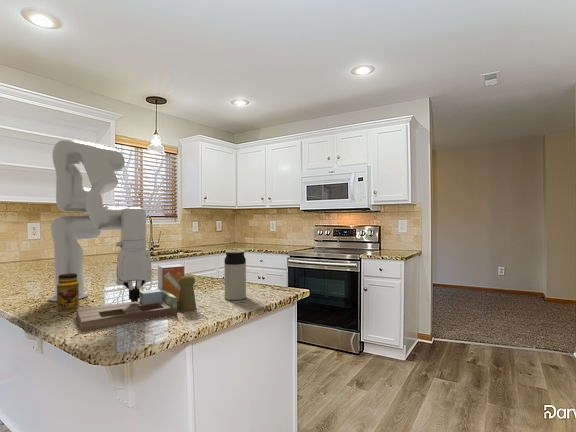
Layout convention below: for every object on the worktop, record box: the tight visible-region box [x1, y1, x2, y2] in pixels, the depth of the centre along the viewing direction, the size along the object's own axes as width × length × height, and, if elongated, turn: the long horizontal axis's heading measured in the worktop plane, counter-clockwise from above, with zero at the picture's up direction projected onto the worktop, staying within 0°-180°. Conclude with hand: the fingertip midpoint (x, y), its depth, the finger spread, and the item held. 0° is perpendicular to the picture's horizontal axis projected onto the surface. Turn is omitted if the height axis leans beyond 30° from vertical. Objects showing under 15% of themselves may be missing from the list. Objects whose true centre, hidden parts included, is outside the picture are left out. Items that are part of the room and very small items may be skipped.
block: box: [139, 288, 162, 305], centre depth 117 cm, size 5×6×4 cm
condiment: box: [47, 273, 86, 315], centre depth 117 cm, size 7×8×12 cm
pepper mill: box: [177, 275, 197, 312], centre depth 117 cm, size 6×6×11 cm
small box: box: [157, 263, 185, 303], centre depth 128 cm, size 8×6×13 cm
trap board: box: [76, 289, 178, 332], centre depth 109 cm, size 16×26×6 cm, turn 125°
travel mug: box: [224, 249, 247, 301], centre depth 132 cm, size 8×8×18 cm
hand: (134, 301), depth 115 cm, fingers closed
